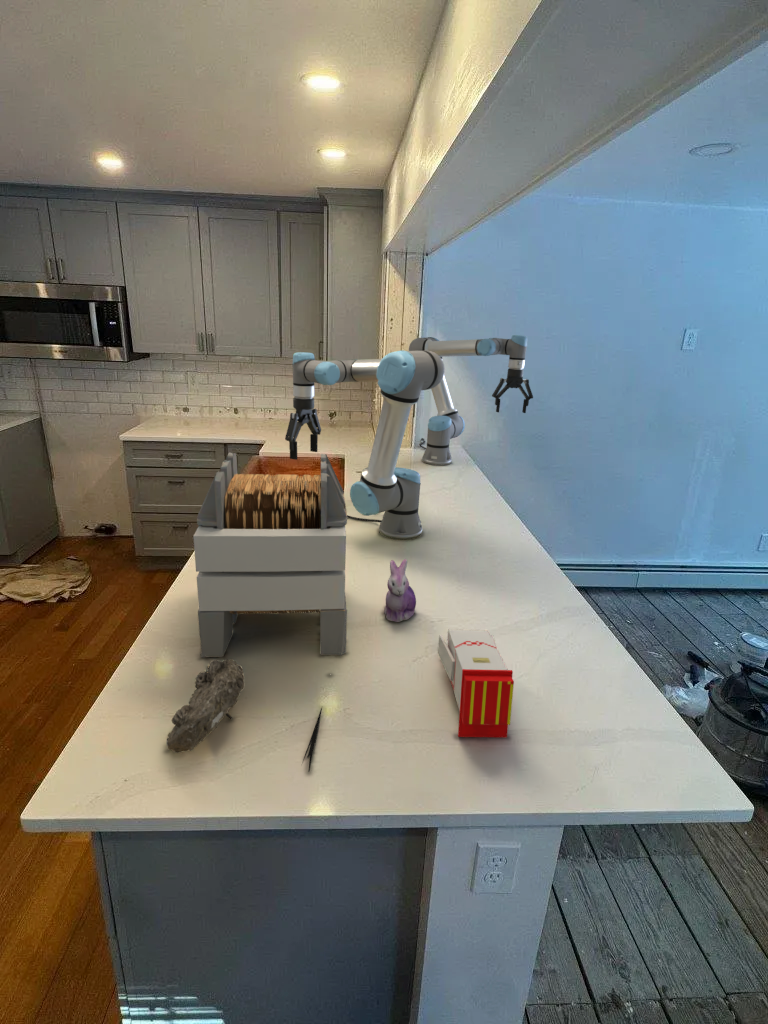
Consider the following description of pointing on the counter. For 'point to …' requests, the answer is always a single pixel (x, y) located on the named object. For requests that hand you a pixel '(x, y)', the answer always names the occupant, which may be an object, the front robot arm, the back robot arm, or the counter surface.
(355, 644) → the counter surface
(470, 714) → the toy
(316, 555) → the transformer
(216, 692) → the fossil
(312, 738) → the feather
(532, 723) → the counter surface
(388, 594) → the figurine
